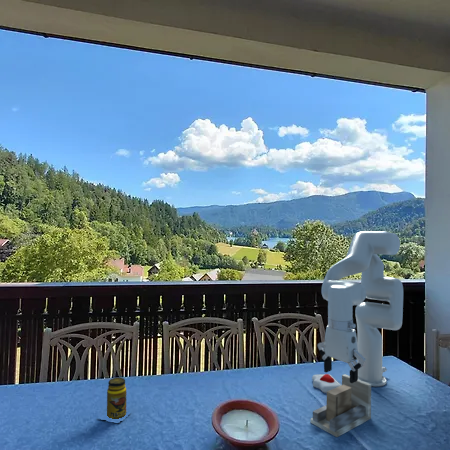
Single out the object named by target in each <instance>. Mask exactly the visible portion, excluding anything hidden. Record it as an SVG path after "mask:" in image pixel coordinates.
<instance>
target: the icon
mask: <svg viewBox="0 0 450 450" xmlns="http://www.w3.org/2000/svg"><path fill="white" fill-rule="evenodd" d="M311 380H312V386H313V387H314V388H317V389H319V390H321V392H323V393H324V394H327V391H330V390H332V389H334V388H337V387H339V386H341V385H342V383H340V382H338V381H337V380H336V378H334V377H333V375H331V374H330V373H325V374H313V375H312V377H311Z"/></svg>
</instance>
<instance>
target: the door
mask: <svg viewBox="0 0 450 450" xmlns="http://www.w3.org/2000/svg"><path fill="white" fill-rule="evenodd" d="M351 393H352V388H351V387H349V386H346V385H344V384H343V385H342V384H341V386H339V387H337V388H334V389H332V390H330V391H327V393H326V405H327V408H326V420H327V421H329V422H330V419H332V418H334V417H336V416H338V415H340V414H343V413H345V412H347V411H349V410H351Z"/></svg>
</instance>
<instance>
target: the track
mask: <svg viewBox="0 0 450 450" xmlns="http://www.w3.org/2000/svg"><path fill="white" fill-rule="evenodd" d="M343 384H344V385H346V386H349V387H351V388H352V393H351V410H349V411H347V412H345V413H343V414H340V415H338V416H336V417H334V418H332V419H330V422H329V421H327V420H326V408H327V404H326V405H323V406H321V407H319V408H317V409H314V410H313V411H312V417H311V418H310V420H309V421H310V424H312V425H314V426H316V427H318V428H320V430H322V431H325V432H326V433H328V434H331V435H332V436H334V437H336V438H338V437H340V436H342V435H344V434H345V433H347V432H349V431H351V430H353V429H355V428H357V427H358V426H360V425H362V424H364V423H365V422H368V421H369V420H371V419H372V386H371V384H369V383H367V382H364V381H361V380H359V379H358V380H357V381H356V382H354V383H350V375H348V374H346V373H345V374H342V375H341V385H343Z"/></svg>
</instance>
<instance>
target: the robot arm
mask: <svg viewBox="0 0 450 450" xmlns="http://www.w3.org/2000/svg"><path fill="white" fill-rule="evenodd" d="M400 247H401V242H400V238H399V236H398V235H397V234H396V233H394V232H389V231H378V230H377V231H372V230H370V231H368V230H367V231H366V230H364V231H359V232H356V233H355V234H354V235H353V237H352V239H351V242H350V245H349V247H348V250H347V253H346V257H344V258H343V259H341V260H339V261H337V262H336V263H334V264H333V265H331V267H330V268H329V269H328V270H327V271H326V273H325V276H324V279H323V282H322V285H321V291H320V292H321V295H322V298H323V300H326V301H327V316H328V317H327V326H326V329H325V334H324V341H323V342H319V343H317V348H318V350H319V353H320V355H321V359H322V360H323V369H324V370H323V372H324V373H328V372H331V371H332V369H333V368H332V367H333V366H332V365H333V361H332V360H333V359H335V360H337V361H340V362H343V363H346V364H347V365H348V367H349V368H350V370H349V376H350V383H354V382H356V381H357V380H358V379H359V380H361V381H364V382H367V383H369V384H371V387H377V388H378V387H383V386H385V385H386V384H387V378H386V377H385V376H383V373H385V372H387V370H388V369H387V368H386V366H383V344H384V343H383V336H382V334H381V332H380V331H379V329H383V330H389V331H391V330H392V331H398V330H400V329H401V328H402V325H403V315H404V314H403V312H404V309H403V308H404V286H403V283H402V280H400V279H399V278H396V277H387V276H385V274H384V272H385V271H384V270H385V269H384V268H385V264H384V262H383V260H382V259H381V258H380V256H379V255H385V256H386V255H389V256H395V255H396V254H398V252H399V251H400V249H401V248H400ZM358 274H361V275H360V277H361V278H360V282H358V281H349V280H348V281H347V280H341V279H343V278H347V277H349V276H350V277H351V276H354V275H358ZM366 299H368V300H377V301H384V302H388V303H389V304H385V303H379V302H370V301H366ZM353 306H356V307H355V319H356V323H354V318H353V315H354V313H353V311H354V310H353ZM356 329H357V333H356Z"/></svg>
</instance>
